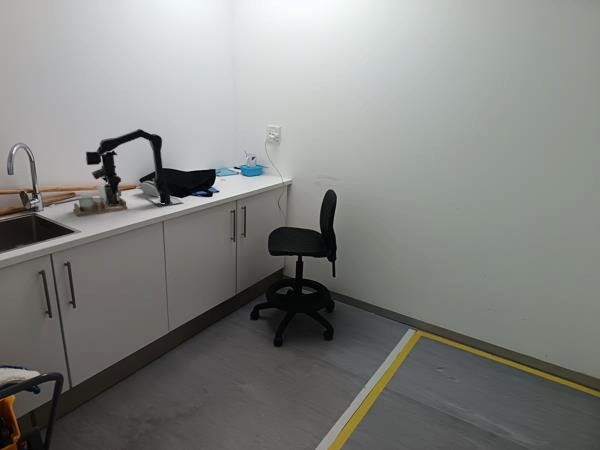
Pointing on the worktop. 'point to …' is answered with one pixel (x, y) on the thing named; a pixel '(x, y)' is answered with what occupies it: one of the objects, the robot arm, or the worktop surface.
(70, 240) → the worktop surface
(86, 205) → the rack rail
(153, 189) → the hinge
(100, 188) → the shelf bracket
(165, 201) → the robot arm
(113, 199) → the beverage can
